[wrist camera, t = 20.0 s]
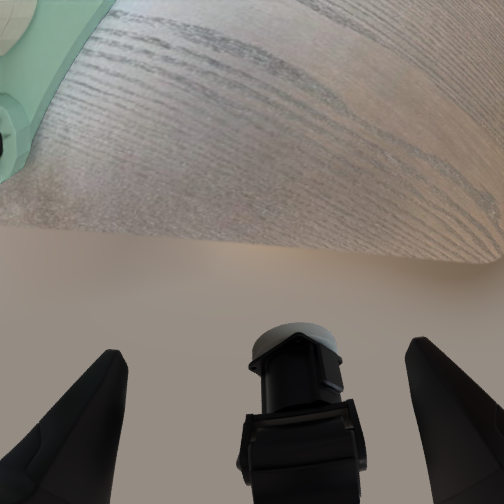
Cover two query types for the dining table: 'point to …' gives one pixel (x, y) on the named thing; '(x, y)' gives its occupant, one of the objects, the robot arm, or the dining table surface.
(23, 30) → the bowl
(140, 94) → the dining table surface
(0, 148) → the button
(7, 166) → the scale
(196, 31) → the dining table surface
